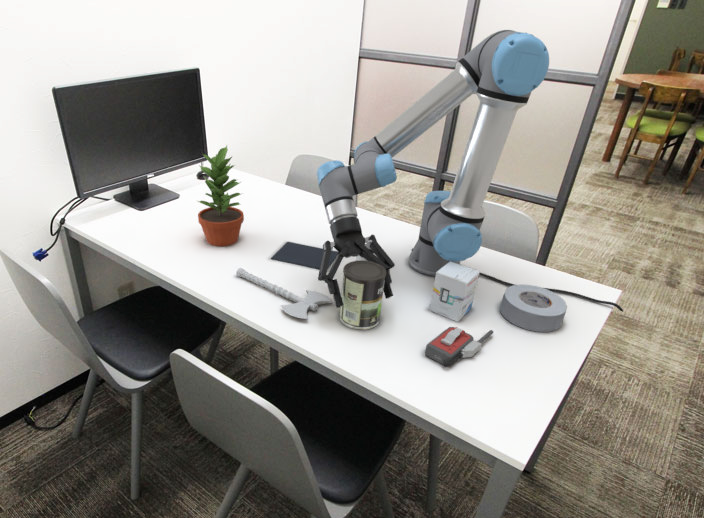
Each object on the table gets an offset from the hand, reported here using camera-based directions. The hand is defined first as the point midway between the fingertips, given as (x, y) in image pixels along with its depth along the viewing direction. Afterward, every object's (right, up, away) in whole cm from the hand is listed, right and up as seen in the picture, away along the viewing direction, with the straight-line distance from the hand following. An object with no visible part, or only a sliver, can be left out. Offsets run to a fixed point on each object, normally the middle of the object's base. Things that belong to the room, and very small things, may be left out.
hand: (365, 301), depth 122 cm
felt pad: (-14, +14, +34) cm, 39 cm away
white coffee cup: (+3, +6, +22) cm, 23 cm away
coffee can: (-1, -4, +5) cm, 7 cm away
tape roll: (+45, -4, +9) cm, 46 cm away
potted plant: (-42, +20, +41) cm, 62 cm away
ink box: (+24, -2, +10) cm, 26 cm away
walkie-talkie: (+22, -11, -4) cm, 25 cm away
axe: (-22, +2, +14) cm, 26 cm away
